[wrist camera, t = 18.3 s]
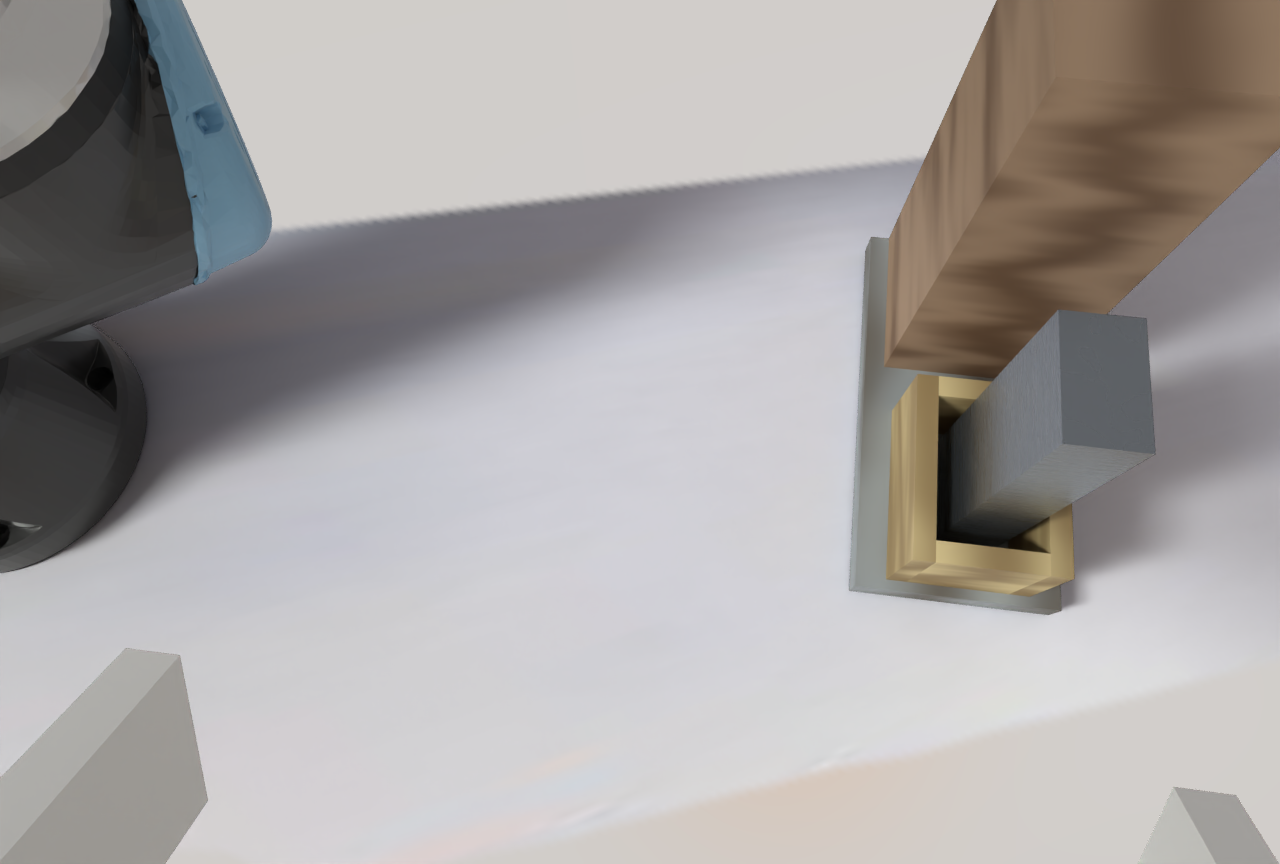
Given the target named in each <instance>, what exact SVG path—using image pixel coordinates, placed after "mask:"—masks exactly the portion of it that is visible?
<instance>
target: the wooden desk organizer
mask: <svg viewBox="0 0 1280 864" xmlns="http://www.w3.org/2000/svg"><path fill="white" fill-rule="evenodd" d="M1279 148H1280V0H997V1H996V3H995V5H994V8H993V10H992V12H991V14H990V16H989V19H988V21H987V23H986V25H985V27H984V30H983V32H982V34H981V36H980V39H979V41H978V43H977V45H976V47H975V50H974V52H973V54H972V56H971V58H970V61H969V63H968V65H967V67H966V69H965V72H964V74H963V76H962V78H961V81H960V83H959V85H958V87H957V89H956V92H955V94H954V96H953V98H952V100H951V103H950V105H949V107H948V109H947V111H946V114H945V116H944V118H943V120H942V123H941V125H940V127H939V129H938V131H937V134H936V136H935V138H934V141H933V143H932V145H931V147H930V149H929V151H928V153H927V156H926V158H925V160H924V162H923V164H922V167H921V169H920V171H919V173H918V176H917V178H916V180H915V182H914V184H913V187H912V189H911V191H910V193H909V195H908V198H907V200H906V202H905V204H904V206H903V209H902V211H901V213H900V215H899V218H898V220H897V222H896V224H895V226H894V229H893V231H892V233H891V235H890V237H889V238H878V237H871V239H870V241H869V244H868V246H867V248H866V251H865V272H864V292H863V313H862V333H861V353H860V374H859V394H858V415H857V435H856V456H855V476H854V497H853V517H852V538H851V558H850V579H849V591H856V592H864V593H872V594H880V595H889V596H897V597H905V598H913V599H921V600H930V601H938V602H946V603H954V604H962V605H971V606H979V607H987V608H995V609H1003V610H1012V611H1020V612H1028V613H1036V614H1044V615H1050V614H1053V613H1056V612H1059V611H1061V590H1060V584H1063V583H1065V582H1068V581H1070V580H1073V579H1075V578H1074V550H1073V521H1072V503H1071V504H1069V505H1068V506H1066V507H1064V508H1063V509H1061V510H1059V511H1058V512H1056V513H1054V514H1052V515H1051V516H1049V517H1047V518H1046V519H1044V520H1042V521H1040V522H1039V523H1037V524H1035V525H1034V526H1032V527H1030V528H1028V529H1027V530H1025V531H1023V532H1022V533H1020V534H1018V535H1017V536H1015V537H1013V538H1011V539H1010V540H1008V541H1006V542H1005V543H1003V544H1001V545H999V546H998V547H989V546H981V545H972V544H964V543H955V542H947V541H938V540H936V524H937V464H938V440H939V439H940V438H941V437H942V436H943V435H944V434H945V433H946V432H947V431H948V429H949V428H950V427H951V426H952V425H953V424H954V423H955V422H956V421H957V420H958V419H959V417H960V416H961V415H962V414H963V413H964V412H965V411H966V410H967V409H968V408H969V407H970V405H971V404H972V403H973V402H974V401H975V400H976V399H977V398H978V397H979V396H980V395H981V393H982V392H983V391H984V390H985V389H986V388H987V387H988V386H989V385H990V384H991V383H992V381H993V380H994V379H995V378H996V377H997V376H998V375H999V374H1000V373H1001V372H1002V371H1003V369H1004V368H1005V367H1006V366H1007V365H1008V364H1009V363H1010V362H1011V361H1012V360H1013V359H1014V357H1015V356H1016V355H1017V354H1018V353H1019V352H1020V351H1021V350H1022V349H1023V348H1024V347H1025V345H1026V344H1027V343H1028V342H1029V341H1030V340H1031V339H1032V338H1033V337H1034V336H1035V334H1036V333H1037V332H1038V331H1039V330H1040V329H1041V328H1042V327H1043V326H1044V325H1045V324H1046V322H1047V321H1048V320H1049V319H1050V318H1051V317H1052V316H1053V315H1054V314H1055V313H1056V312H1057V310H1058V309H1059V310H1068V311H1078V312H1088V313H1098V314H1107V313H1108V312H1109V311H1110V310H1112V309H1113V308H1114V307H1115V306H1116V305H1117V304H1118V303H1119V302H1120V301H1121V300H1122V299H1123V298H1124V297H1125V296H1126V295H1127V294H1128V293H1129V292H1130V291H1131V290H1132V289H1133V288H1134V287H1135V286H1136V285H1137V284H1139V283H1140V282H1141V281H1142V280H1143V279H1144V278H1145V277H1146V276H1147V275H1148V274H1149V273H1150V272H1151V271H1152V270H1153V269H1154V268H1155V267H1156V266H1157V265H1158V264H1159V263H1160V262H1161V261H1162V260H1163V259H1164V258H1166V257H1167V256H1168V255H1169V254H1170V253H1171V252H1172V251H1173V250H1174V249H1175V248H1176V247H1177V246H1178V245H1179V244H1180V243H1181V242H1182V241H1183V240H1184V239H1185V238H1186V237H1187V236H1188V235H1189V234H1190V233H1191V232H1193V231H1194V230H1195V229H1196V228H1197V227H1198V226H1199V225H1200V224H1201V223H1202V222H1203V221H1204V220H1205V219H1206V218H1207V217H1208V216H1209V215H1210V214H1211V213H1212V212H1213V211H1214V210H1215V209H1216V208H1217V207H1218V206H1220V205H1221V204H1222V203H1223V202H1224V201H1225V200H1226V199H1227V198H1228V197H1229V196H1230V195H1231V194H1232V193H1233V192H1234V191H1235V190H1236V189H1237V188H1238V187H1239V186H1240V185H1241V184H1242V183H1243V182H1244V181H1245V180H1247V179H1248V178H1249V177H1250V176H1251V175H1252V174H1253V173H1254V172H1255V171H1256V170H1257V169H1258V168H1259V167H1260V166H1261V165H1262V164H1263V163H1264V162H1265V161H1266V160H1267V159H1268V158H1269V157H1270V156H1271V155H1272V154H1274V153H1275V152H1276V151H1277V150H1278V149H1279Z"/></svg>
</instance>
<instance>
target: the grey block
mask: <svg viewBox="0 0 1280 864" xmlns="http://www.w3.org/2000/svg"><path fill="white" fill-rule="evenodd" d="M1153 455H1155V440H1154V425H1153V410H1152V395H1151V380H1150V365H1149V350H1148V335H1147V320H1146V318H1137V317H1127V316H1117V315H1107V314H1098V313H1088V312H1078V311H1068V310H1059V309H1058V310H1057V312H1056V313H1055V314H1054V315H1053V316H1052V317H1051V318H1050V319H1049V320H1048V321H1047V322H1046V324H1045V325H1044V326H1043V327H1042V328H1041V329H1040V330H1039V331H1038V332H1037V333H1036V334H1035V336H1034V337H1033V338H1032V339H1031V340H1030V341H1029V342H1028V343H1027V344H1026V345H1025V347H1024V348H1023V349H1022V350H1021V351H1020V352H1019V353H1018V354H1017V355H1016V356H1015V357H1014V359H1013V360H1012V361H1011V362H1010V363H1009V364H1008V365H1007V366H1006V367H1005V368H1004V369H1003V371H1002V372H1001V373H1000V374H999V375H998V376H997V377H996V378H995V379H994V380H993V381H992V383H991V384H990V385H989V386H988V387H987V388H986V389H985V390H984V391H983V392H982V393H981V395H980V396H979V397H978V398H977V399H976V400H975V401H974V402H973V403H972V404H971V405H970V407H969V408H968V409H967V410H966V411H965V412H964V413H963V414H962V415H961V416H960V417H959V419H958V420H957V421H956V422H955V423H954V424H953V425H952V426H951V427H950V428H949V429H948V431H947V432H946V433H945V434H944V435H943V436H942V437H941V438H940V439H939V440H938V464H937V524H936V540H938V541H947V542H955V543H964V544H972V545H981V546H989V547H998V546H999V545H1001V544H1003V543H1005V542H1006V541H1008V540H1010V539H1011V538H1013V537H1015V536H1017V535H1018V534H1020V533H1022V532H1023V531H1025V530H1027V529H1028V528H1030V527H1032V526H1034V525H1035V524H1037V523H1039V522H1040V521H1042V520H1044V519H1046V518H1047V517H1049V516H1051V515H1052V514H1054V513H1056V512H1058V511H1059V510H1061V509H1063V508H1064V507H1066V506H1068V505H1069V504H1071V503H1073V502H1075V501H1076V500H1078V499H1080V498H1081V497H1083V496H1085V495H1087V494H1088V493H1090V492H1092V491H1093V490H1095V489H1097V488H1099V487H1100V486H1102V485H1104V484H1105V483H1107V482H1109V481H1110V480H1112V479H1114V478H1116V477H1117V476H1119V475H1121V474H1122V473H1124V472H1126V471H1128V470H1129V469H1131V468H1133V467H1134V466H1136V465H1138V464H1140V463H1141V462H1143V461H1145V460H1146V459H1148V458H1150V457H1151V456H1153Z"/></svg>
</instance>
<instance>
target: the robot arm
mask: <svg viewBox="0 0 1280 864" xmlns="http://www.w3.org/2000/svg"><path fill="white" fill-rule="evenodd" d="M271 227H272V218H271V211H270V208H269V205H268V202H267V199H266V196H265V194H264V191H263V188H262V186H261V183H260V181H259V178H258V175H257V173H256V170H255V168H254V165H253V163H252V161H251V158H250V156H249V153H248V151H247V148H246V146H245V143H244V141H243V139H242V136H241V134H240V132H239V129H238V127H237V124H236V122H235V120H234V117H233V115H232V113H231V110H230V108H229V106H228V103H227V101H226V99H225V96H224V94H223V92H222V89H221V87H220V85H219V82H218V80H217V78H216V75H215V73H214V71H213V69H212V66H211V64H210V62H209V60H208V57H207V55H206V53H205V51H204V48H203V46H202V44H201V42H200V39H199V37H198V35H197V32H196V30H195V28H194V26H193V24H192V22H191V19H190V17H189V15H188V13H187V10H186V8H185V6H184V4H183V2H182V0H0V573H3V572H8V571H12V570H16V569H19V568H22V567H25V566H28V565H31V564H34V563H36V562H39V561H41V560H43V559H45V558H47V557H49V556H51V555H53V554H55V553H57V552H58V551H60V550H62V549H63V548H65V547H67V546H68V545H70V544H71V543H72V542H74V541H75V540H77V539H78V538H79V537H81V536H82V535H83V534H84V533H86V532H87V531H88V530H89V529H90V528H91V527H92V526H93V525H94V524H96V523H97V522H98V521H99V520H100V518H101V517H102V516H103V515H104V514H105V513H106V512H107V511H108V510H109V508H110V507H111V506H112V505H113V503H114V502H115V501H116V499H117V498H118V497H119V495H120V494H121V492H122V491H123V489H124V488H125V486H126V484H127V482H128V481H129V479H130V477H131V475H132V473H133V471H134V469H135V466H136V464H137V461H138V458H139V455H140V452H141V449H142V445H143V441H144V436H145V430H146V401H145V394H144V390H143V386H142V383H141V380H140V377H139V375H138V373H137V370H136V368H135V367H134V365H133V363H132V362H131V360H130V359H129V357H128V356H127V354H126V353H125V352H124V351H123V350H122V349H121V348H120V347H119V346H118V345H117V344H116V343H115V342H114V341H113V340H112V339H110V338H109V337H108V336H106V335H105V334H104V333H102V332H101V331H100V330H98V329H97V328H95V327H94V326H93V325H91V323H94V322H96V321H99V320H101V319H104V318H107V317H109V316H112V315H114V314H117V313H120V312H122V311H125V310H127V309H130V308H132V307H135V306H138V305H140V304H143V303H145V302H148V301H150V300H153V299H156V298H158V297H161V296H163V295H166V294H169V293H171V292H174V291H176V290H179V289H181V288H184V287H187V286H189V285H192V284H193V285H197V284H200V283H203V282H205V281H206V280H207V279H208V277H209V275H210V274H211V273H213V272H215V271H217V270H220V269H222V268H224V267H226V266H228V265H230V264H232V263H235V262H237V261H239V260H241V259H243V258H245V257H247V256H250V255H252V254H253V253H255V252H257V251H258V250H259V249H260V248H261V247H262V246H263V245H264V244H265V243H266V241H267V239H268V237H269V235H270V232H271ZM207 801H208V798H207V792H206V787H205V782H204V777H203V772H202V767H201V761H200V756H199V751H198V746H197V741H196V736H195V731H194V725H193V720H192V715H191V710H190V705H189V700H188V694H187V689H186V684H185V679H184V674H183V669H182V663H181V658H180V655H174V654H167V653H159V652H152V651H144V650H137V649H129V648H126V649H125V650H124V651H123V652H122V653H121V654H120V655H119V656H118V657H117V658H116V659H115V660H114V661H113V662H112V663H111V664H110V665H109V666H108V667H107V668H106V669H105V670H104V671H103V672H102V673H101V675H100V676H99V677H98V678H97V679H96V680H95V681H94V682H93V683H92V684H91V685H90V686H89V687H88V688H87V689H86V690H85V691H84V692H83V693H82V694H81V695H80V696H79V697H78V698H77V699H76V700H75V701H74V702H73V703H72V704H71V706H70V707H69V708H68V709H67V710H66V711H65V712H64V713H63V714H62V715H61V716H60V717H59V718H58V719H57V720H56V721H55V722H54V723H53V724H52V725H51V726H50V727H49V728H48V729H47V730H46V731H45V732H44V733H43V734H42V735H41V737H40V738H39V739H38V740H37V741H36V742H35V743H34V744H33V745H32V746H31V747H30V748H29V749H28V750H27V751H26V752H25V753H24V754H23V755H22V756H21V757H20V758H19V759H18V760H17V761H16V762H15V763H14V764H13V765H12V766H11V768H10V769H9V770H8V771H7V772H6V773H5V774H4V775H3V776H2V777H1V778H0V864H165V863H166V862H167V860H168V859H169V857H170V856H171V854H172V853H173V851H174V850H175V849H176V847H177V846H178V844H179V843H180V841H181V840H182V838H183V837H184V835H185V834H186V832H187V831H188V829H189V828H190V826H191V825H192V823H193V822H194V820H195V819H196V818H197V816H198V815H199V813H200V812H201V810H202V809H203V807H204V806H205V804H206V803H207ZM1138 864H1279V863H1278V861H1277V860H1276V858H1275V856H1274V855H1273V853H1272V852H1271V850H1270V849H1269V847H1268V845H1267V844H1266V842H1265V841H1264V839H1263V837H1262V836H1261V834H1260V833H1259V831H1258V830H1257V828H1256V826H1255V825H1254V823H1253V822H1252V820H1251V818H1250V817H1249V815H1248V814H1247V812H1246V811H1245V809H1244V807H1243V806H1242V804H1241V802H1240V801H1239V799H1238V798H1237V796H1236V795H1229V794H1223V793H1215V792H1207V791H1200V790H1193V789H1185V788H1178V787H1173V789H1172V791H1171V794H1170V796H1169V798H1168V800H1167V802H1166V804H1165V806H1164V809H1163V811H1162V813H1161V815H1160V817H1159V819H1158V821H1157V824H1156V826H1155V828H1154V830H1153V832H1152V834H1151V836H1150V839H1149V841H1148V843H1147V845H1146V847H1145V849H1144V852H1143V854H1142V856H1141V858H1140V860H1139V862H1138Z"/></svg>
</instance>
